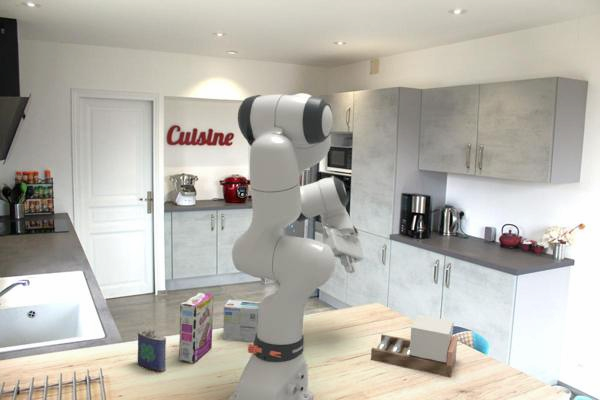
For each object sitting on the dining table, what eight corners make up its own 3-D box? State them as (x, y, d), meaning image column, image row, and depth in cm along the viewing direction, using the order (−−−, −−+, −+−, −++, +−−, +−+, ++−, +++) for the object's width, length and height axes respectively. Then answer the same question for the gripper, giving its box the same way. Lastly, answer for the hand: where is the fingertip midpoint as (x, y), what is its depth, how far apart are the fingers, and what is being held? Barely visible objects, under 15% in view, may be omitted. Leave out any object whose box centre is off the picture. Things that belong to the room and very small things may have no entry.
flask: (167, 369, 132) (167, 331, 130) (159, 374, 129) (159, 334, 128) (142, 360, 136) (142, 323, 135) (134, 365, 134) (133, 326, 132)
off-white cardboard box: (409, 354, 139) (411, 327, 138) (416, 340, 149) (418, 314, 148) (446, 362, 135) (448, 334, 134) (451, 347, 145) (453, 321, 144)
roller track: (370, 359, 143) (372, 336, 142) (381, 344, 154) (382, 322, 153) (450, 377, 134) (452, 352, 133) (455, 359, 145) (457, 336, 144)
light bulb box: (261, 334, 158) (262, 301, 156) (257, 342, 151) (258, 308, 150) (227, 331, 159) (228, 298, 157) (222, 340, 152) (223, 305, 151)
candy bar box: (194, 364, 135) (195, 306, 133) (178, 361, 137) (178, 303, 135) (213, 348, 146) (214, 293, 144) (197, 345, 147) (198, 291, 145)
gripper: (332, 218, 142) (345, 263, 137) (360, 231, 160) (372, 272, 154) (313, 226, 145) (325, 271, 139) (342, 238, 162) (354, 279, 157)
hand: (350, 272), depth 147 cm, fingers closed
